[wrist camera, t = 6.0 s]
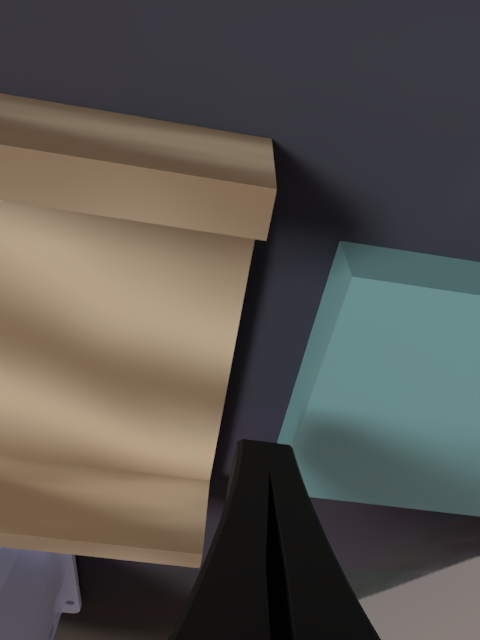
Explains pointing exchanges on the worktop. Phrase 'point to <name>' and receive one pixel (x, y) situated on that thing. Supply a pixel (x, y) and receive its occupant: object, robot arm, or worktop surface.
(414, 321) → the cover plate
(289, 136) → the worktop surface
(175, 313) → the pine box
